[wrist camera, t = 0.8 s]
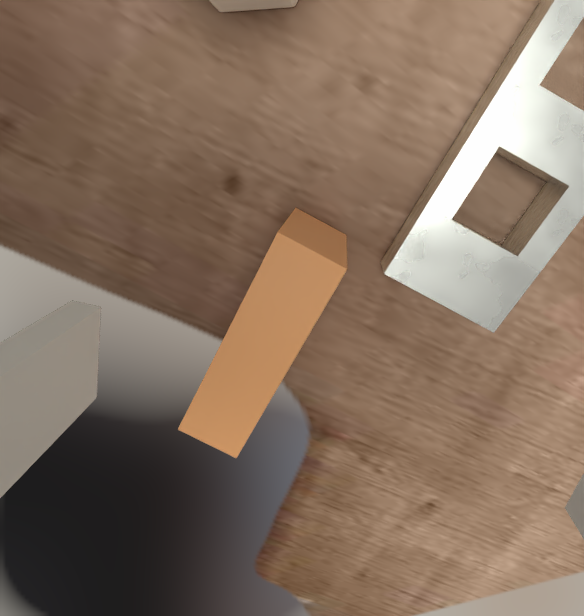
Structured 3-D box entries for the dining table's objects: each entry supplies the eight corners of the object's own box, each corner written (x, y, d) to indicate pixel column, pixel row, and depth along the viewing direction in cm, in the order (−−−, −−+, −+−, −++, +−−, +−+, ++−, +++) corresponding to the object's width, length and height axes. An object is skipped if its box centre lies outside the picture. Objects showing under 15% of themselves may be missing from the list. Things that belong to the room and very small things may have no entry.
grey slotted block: (380, 261, 31) (384, 273, 28) (604, -104, 23) (640, -138, 20) (480, 315, 31) (493, 332, 29) (732, -25, 24) (784, -47, 21)
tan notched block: (227, 343, 34) (177, 429, 24) (300, 201, 30) (277, 232, 20) (268, 364, 35) (236, 458, 24) (346, 226, 30) (347, 269, 20)
